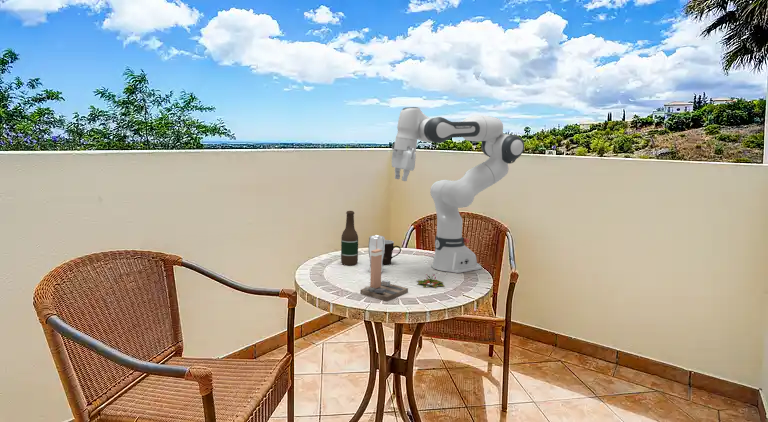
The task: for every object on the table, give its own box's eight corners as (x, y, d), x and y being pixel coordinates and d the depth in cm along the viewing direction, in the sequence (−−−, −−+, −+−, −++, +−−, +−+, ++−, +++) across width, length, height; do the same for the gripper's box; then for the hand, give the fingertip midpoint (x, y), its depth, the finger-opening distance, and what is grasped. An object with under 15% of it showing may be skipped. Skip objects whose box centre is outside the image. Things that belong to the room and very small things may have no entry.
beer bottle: (355, 266, 201) (356, 212, 197) (338, 265, 202) (339, 212, 198) (359, 262, 208) (360, 210, 205) (343, 260, 209) (343, 209, 206)
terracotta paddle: (370, 288, 165) (371, 250, 163) (376, 285, 168) (378, 248, 166) (374, 289, 164) (375, 251, 162) (381, 286, 167) (382, 249, 165)
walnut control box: (360, 293, 164) (360, 286, 164) (382, 285, 175) (382, 278, 174) (387, 301, 157) (387, 294, 157) (408, 292, 167) (408, 285, 167)
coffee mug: (370, 262, 208) (371, 241, 206) (383, 259, 214) (384, 238, 212) (388, 268, 200) (389, 245, 198) (401, 264, 206) (402, 243, 204)
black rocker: (374, 292, 161) (374, 290, 161) (378, 290, 162) (378, 288, 162) (382, 293, 158) (382, 290, 158) (386, 291, 160) (386, 288, 160)
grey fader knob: (381, 284, 170) (381, 280, 169) (384, 283, 171) (384, 279, 171) (387, 286, 168) (387, 282, 168) (389, 285, 170) (390, 280, 169)
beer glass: (382, 274, 190) (383, 239, 188) (366, 272, 191) (367, 237, 189) (385, 269, 197) (386, 235, 195) (369, 268, 198) (370, 234, 196)
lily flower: (450, 289, 174) (451, 277, 174) (421, 290, 171) (421, 279, 171) (438, 279, 186) (439, 269, 185) (411, 281, 183) (411, 270, 182)
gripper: (421, 148, 177) (416, 183, 178) (404, 147, 196) (400, 178, 198) (406, 145, 175) (401, 181, 176) (391, 145, 194) (386, 177, 196)
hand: (400, 180), depth 187 cm, fingers open, 8 cm apart
